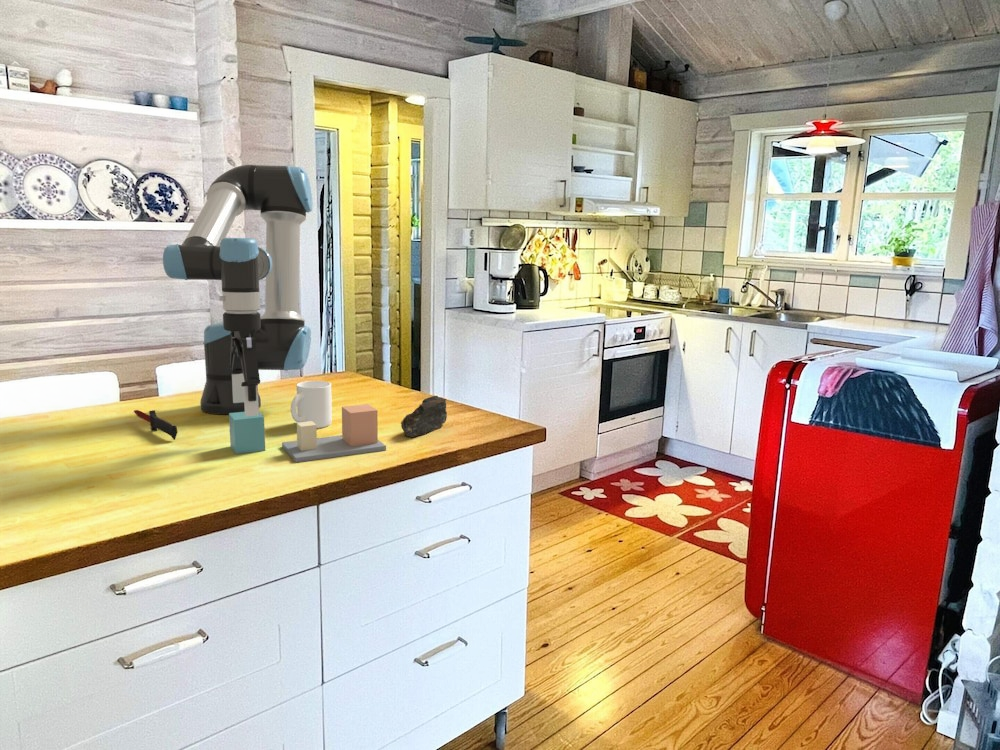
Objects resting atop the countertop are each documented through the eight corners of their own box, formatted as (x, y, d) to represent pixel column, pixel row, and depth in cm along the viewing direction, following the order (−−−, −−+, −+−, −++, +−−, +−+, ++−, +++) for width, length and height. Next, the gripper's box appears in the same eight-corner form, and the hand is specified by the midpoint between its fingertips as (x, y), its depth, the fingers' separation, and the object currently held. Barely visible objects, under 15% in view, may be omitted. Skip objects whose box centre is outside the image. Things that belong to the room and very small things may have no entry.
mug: (304, 434, 169) (303, 392, 167) (279, 429, 173) (277, 387, 171) (338, 423, 179) (338, 383, 177) (314, 418, 183) (313, 379, 181)
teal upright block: (230, 446, 158) (228, 413, 157) (259, 442, 162) (257, 410, 160) (235, 454, 153) (234, 420, 152) (265, 450, 156) (263, 416, 155)
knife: (178, 441, 161) (177, 420, 160) (171, 442, 160) (170, 421, 159) (137, 420, 177) (135, 400, 176) (131, 421, 176) (129, 401, 175)
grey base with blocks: (282, 446, 159) (280, 409, 157) (367, 436, 169) (367, 400, 167) (295, 462, 149) (294, 422, 147) (386, 450, 159) (385, 412, 157)
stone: (421, 420, 183) (397, 438, 169) (422, 390, 181) (398, 406, 167) (447, 424, 181) (425, 443, 167) (448, 394, 179) (426, 410, 165)
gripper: (213, 306, 160) (217, 398, 164) (233, 318, 139) (238, 423, 143) (248, 305, 164) (251, 395, 168) (273, 317, 142) (276, 419, 146)
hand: (245, 408), depth 155 cm, fingers open, 13 cm apart
